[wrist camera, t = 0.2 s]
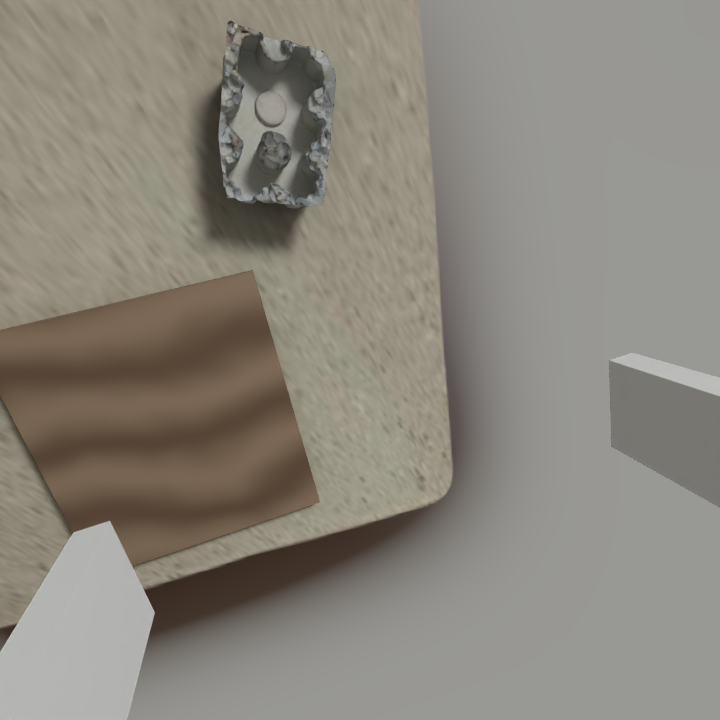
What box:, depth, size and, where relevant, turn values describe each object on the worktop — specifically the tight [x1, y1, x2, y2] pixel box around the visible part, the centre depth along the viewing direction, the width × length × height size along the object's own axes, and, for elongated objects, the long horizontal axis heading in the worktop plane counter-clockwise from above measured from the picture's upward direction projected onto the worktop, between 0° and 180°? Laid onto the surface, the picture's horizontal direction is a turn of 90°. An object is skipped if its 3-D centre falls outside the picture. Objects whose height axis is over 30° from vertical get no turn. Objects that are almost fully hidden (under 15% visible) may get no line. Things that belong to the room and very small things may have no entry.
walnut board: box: [0, 270, 320, 566], centre depth 35 cm, size 22×20×1 cm
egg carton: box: [219, 21, 336, 209], centre depth 30 cm, size 11×8×4 cm
